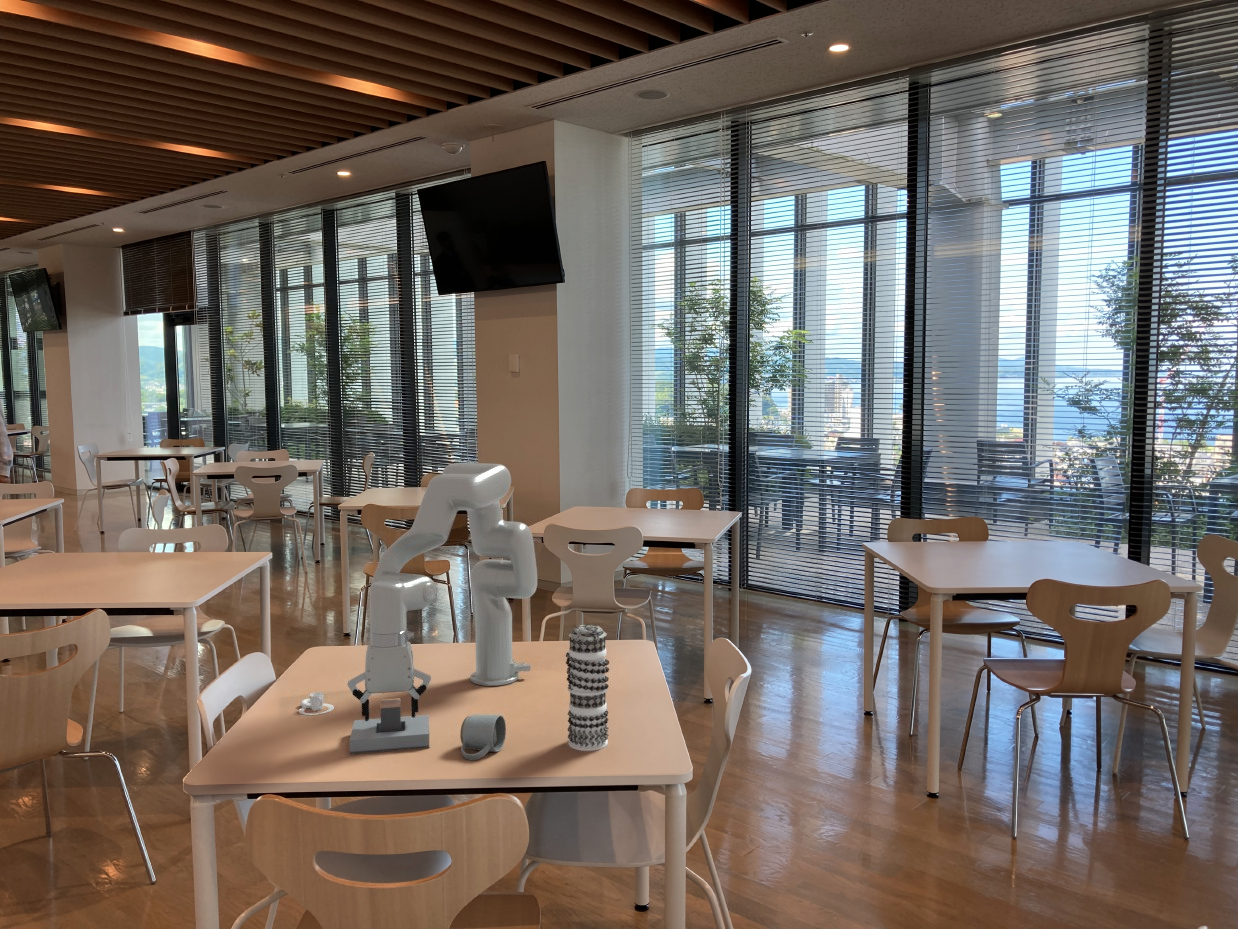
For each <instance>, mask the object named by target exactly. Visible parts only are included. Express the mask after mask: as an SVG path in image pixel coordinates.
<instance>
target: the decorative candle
mask: <svg viewBox="0 0 1238 929" xmlns="http://www.w3.org/2000/svg"><path fill="white" fill-rule="evenodd" d="M607 635H608V633H607V632H605V631H604V630H603V628H602V627H600V626H599V625H596V624H581V625H577V626H575V627H574V628H573V630H572V632H569V634H568V636H569V648H568V651H567V652H566V654H565V657H566V661H565V664H566V665H567V668H566V673H567V678H566V681H567V683H568V685H567V691H568V692H569V706H568V707H569V708H568V709H569V710H568V712H567V715H568V716H569V717H568V720H567V722H568V724H569V725H568V728H567V732H568V735H567V738H568V746H569V747H570V748H571V749H574V750H576V751H581V752H591V751H599V750H602V749H604V748H606V747H607V746H608V744H609V741H608V738H609V733H608V732H609V726H608V722H609V718H608V714H609V710H607V708H608V707H607V706H608V705H607V701H606V697H607V695H606V692H608V689H609V687H610V686H609V684H608V683H607V682H609V677H608V676H607V675H606V674H607V673H609V672H610V668H609V667H608V665H610V660H608V659H607V658H606V657H607V647H606V637H607Z"/></svg>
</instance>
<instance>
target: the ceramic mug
mask: <svg viewBox="0 0 1238 929" xmlns="http://www.w3.org/2000/svg"><path fill="white" fill-rule="evenodd" d="M460 727H461V728H460V741H461V754H462V756H463V757H464V759H466V760H469V761H476V760H479V759H481V758H484V756H486V754H487V753H489V752H493V753H498V752H500V751H501V750H502V749H503V747H504V744H505V741H506V735H507V724H506V720H505V718H504V716H503V715H501V714H470V715H468V716H466V717H465V718H464V720H463V721H462V724H461V725H460ZM466 749H469V750H473V751H478V752H476V753H471V754H470V753H467V752H466V751H465V750H466Z"/></svg>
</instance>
